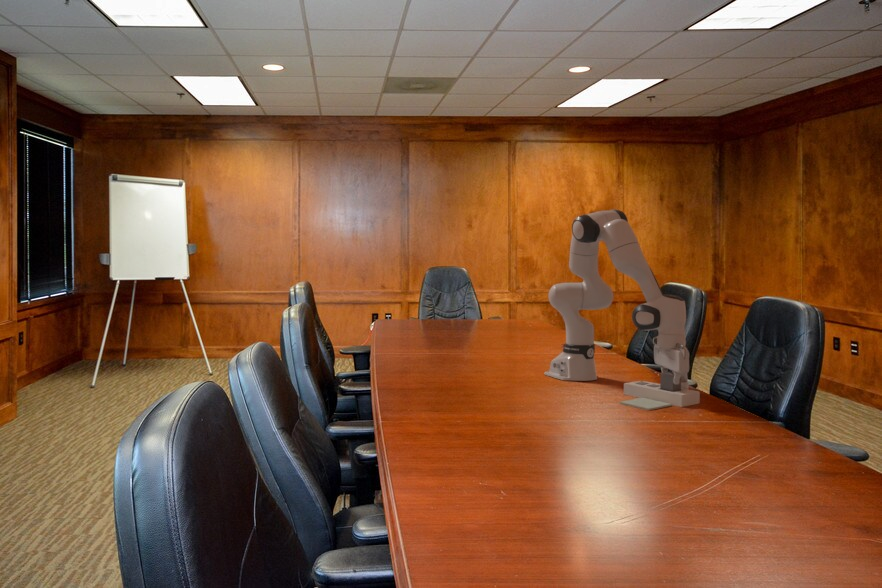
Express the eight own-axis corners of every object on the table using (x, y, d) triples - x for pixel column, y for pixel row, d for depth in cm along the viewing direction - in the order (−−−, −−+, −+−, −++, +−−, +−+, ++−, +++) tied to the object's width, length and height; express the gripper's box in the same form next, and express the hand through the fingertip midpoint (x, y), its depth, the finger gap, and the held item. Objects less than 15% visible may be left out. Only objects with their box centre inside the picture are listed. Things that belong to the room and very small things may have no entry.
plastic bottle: (685, 392, 242) (687, 338, 241) (690, 396, 236) (692, 340, 235) (667, 392, 243) (668, 338, 242) (672, 396, 236) (673, 340, 235)
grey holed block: (623, 394, 239) (623, 382, 238) (641, 391, 244) (641, 379, 244) (681, 407, 219) (681, 394, 219) (699, 403, 225) (699, 390, 224)
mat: (619, 403, 224) (619, 401, 224) (642, 399, 231) (642, 397, 231) (648, 410, 214) (648, 408, 214) (671, 405, 221) (671, 404, 221)
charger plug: (660, 398, 229) (660, 373, 229) (668, 397, 232) (668, 371, 231) (672, 401, 225) (673, 375, 225) (680, 399, 228) (681, 373, 227)
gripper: (694, 346, 217) (693, 387, 218) (667, 338, 238) (666, 376, 238) (676, 346, 217) (675, 387, 218) (650, 338, 237) (649, 376, 238)
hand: (670, 381), depth 228 cm, fingers closed on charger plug, 6 cm apart
